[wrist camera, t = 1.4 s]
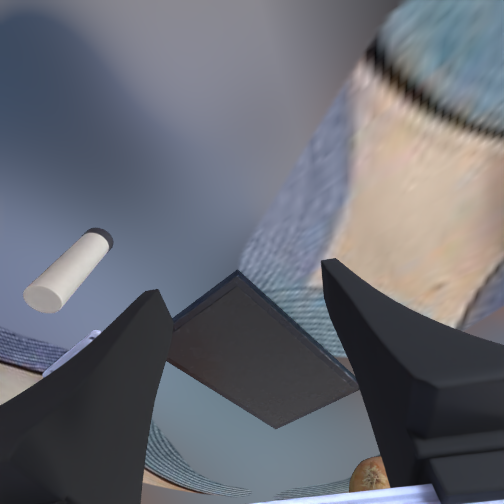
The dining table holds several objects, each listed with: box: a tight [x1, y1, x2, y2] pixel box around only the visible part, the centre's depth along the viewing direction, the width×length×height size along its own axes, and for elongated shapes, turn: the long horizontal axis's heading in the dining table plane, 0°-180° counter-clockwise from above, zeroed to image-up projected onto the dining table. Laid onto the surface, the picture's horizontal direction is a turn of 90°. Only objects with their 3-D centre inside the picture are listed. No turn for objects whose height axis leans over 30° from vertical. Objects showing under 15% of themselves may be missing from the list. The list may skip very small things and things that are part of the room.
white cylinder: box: [23, 228, 113, 313], centre depth 18 cm, size 2×2×7 cm
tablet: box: [166, 270, 360, 429], centre depth 28 cm, size 12×20×1 cm, turn 41°
